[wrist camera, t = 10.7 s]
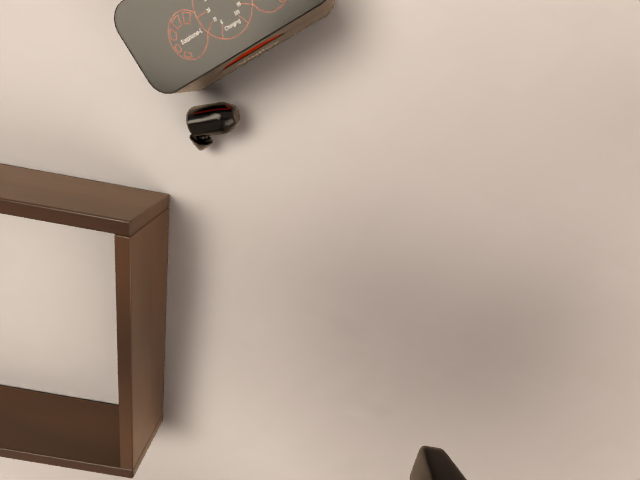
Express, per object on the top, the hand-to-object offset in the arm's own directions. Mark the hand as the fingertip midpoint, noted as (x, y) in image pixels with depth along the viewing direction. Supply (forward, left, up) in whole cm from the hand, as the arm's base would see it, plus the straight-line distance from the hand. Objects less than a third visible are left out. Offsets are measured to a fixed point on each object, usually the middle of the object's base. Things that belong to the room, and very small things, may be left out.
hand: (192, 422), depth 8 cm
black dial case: (+7, +2, -11) cm, 13 cm away
